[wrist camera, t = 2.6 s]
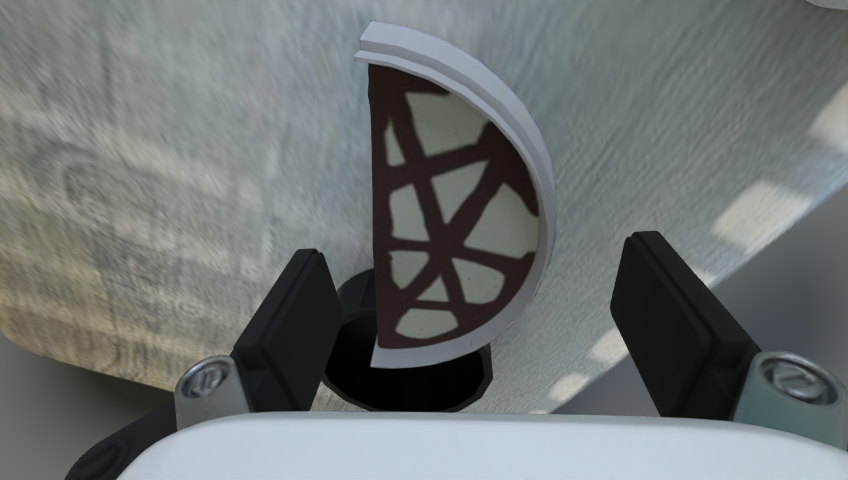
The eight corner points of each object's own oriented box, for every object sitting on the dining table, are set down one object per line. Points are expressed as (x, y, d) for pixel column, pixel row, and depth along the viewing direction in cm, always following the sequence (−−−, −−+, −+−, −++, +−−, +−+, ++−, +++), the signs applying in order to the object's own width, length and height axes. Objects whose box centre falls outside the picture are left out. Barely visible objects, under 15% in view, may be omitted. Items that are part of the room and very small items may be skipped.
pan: (336, 247, 24) (316, 288, 20) (512, 287, 24) (521, 333, 21) (319, 405, 36) (305, 447, 32) (438, 428, 36) (436, 472, 33)
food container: (497, 245, 22) (520, 390, 14) (401, 236, 23) (370, 375, 15) (548, 17, 15) (651, 49, 7) (407, 7, 15) (351, 28, 7)
